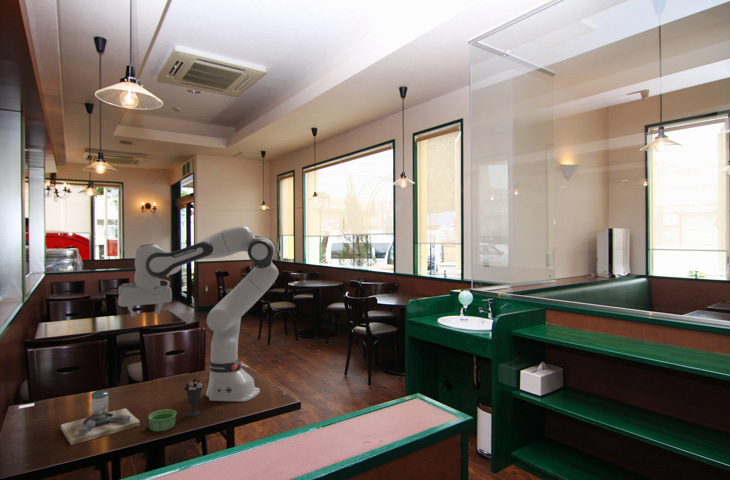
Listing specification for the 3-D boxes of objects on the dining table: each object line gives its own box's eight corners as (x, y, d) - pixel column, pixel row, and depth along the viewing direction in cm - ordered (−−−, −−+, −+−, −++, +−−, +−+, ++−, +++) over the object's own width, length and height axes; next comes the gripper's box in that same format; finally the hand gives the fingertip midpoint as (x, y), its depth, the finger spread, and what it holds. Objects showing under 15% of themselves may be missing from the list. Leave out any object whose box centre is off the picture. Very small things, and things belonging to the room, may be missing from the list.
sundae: (206, 411, 156) (207, 372, 156) (194, 418, 150) (195, 378, 150) (193, 409, 158) (194, 370, 158) (180, 415, 152) (181, 376, 152)
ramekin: (156, 420, 148) (157, 408, 148) (181, 421, 148) (181, 409, 148) (142, 432, 139) (142, 419, 139) (168, 433, 139) (168, 420, 139)
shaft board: (125, 412, 154) (125, 402, 154) (139, 425, 143) (140, 415, 143) (60, 428, 140) (61, 418, 140) (71, 445, 129) (71, 434, 129)
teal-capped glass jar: (111, 418, 145) (112, 390, 145) (99, 425, 140) (100, 396, 140) (99, 417, 146) (100, 389, 146) (86, 423, 141) (87, 394, 141)
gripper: (120, 284, 161) (120, 319, 161) (173, 281, 176) (173, 313, 176) (116, 283, 165) (115, 317, 165) (168, 280, 180) (167, 311, 180)
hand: (145, 315), depth 171 cm, fingers open, 8 cm apart
